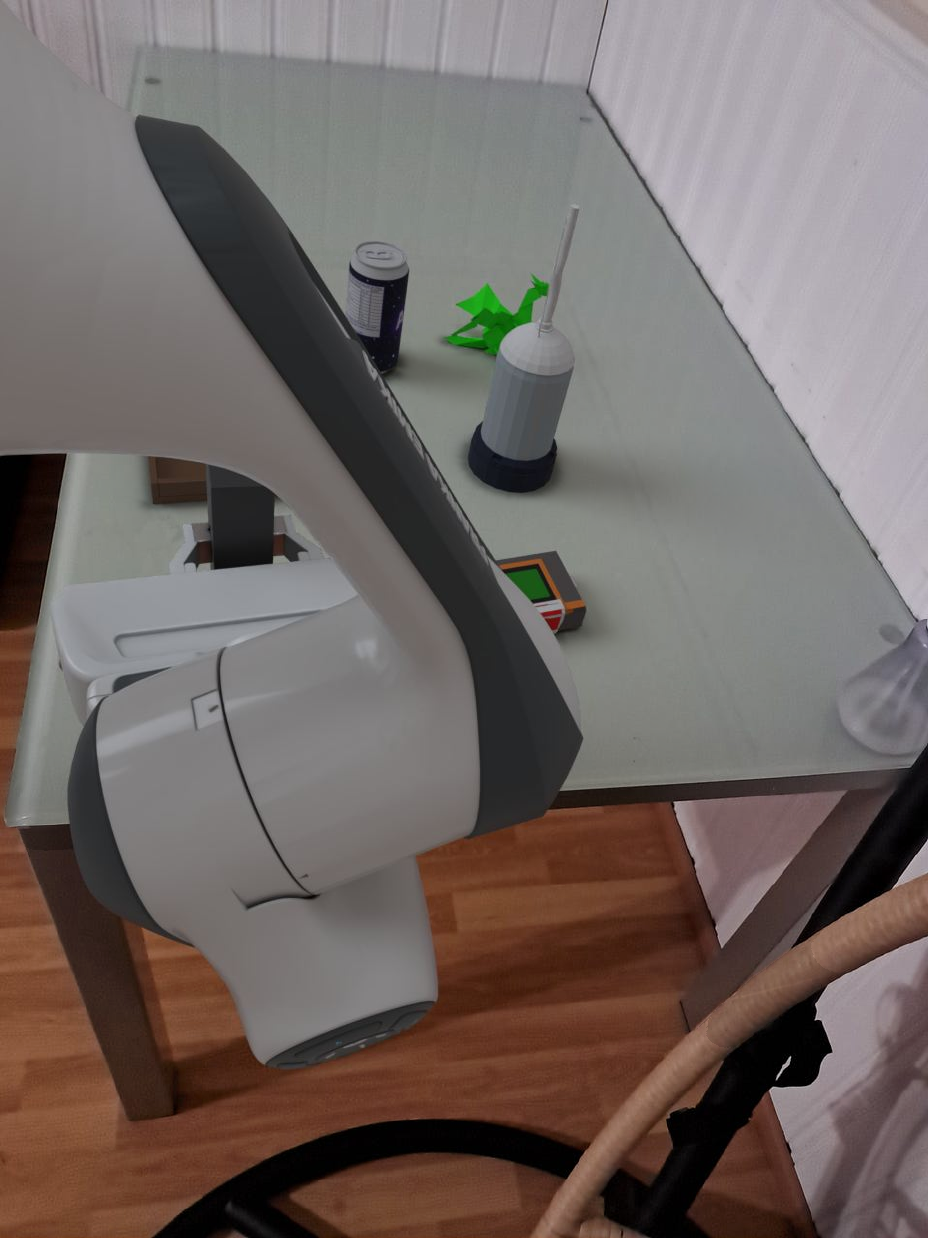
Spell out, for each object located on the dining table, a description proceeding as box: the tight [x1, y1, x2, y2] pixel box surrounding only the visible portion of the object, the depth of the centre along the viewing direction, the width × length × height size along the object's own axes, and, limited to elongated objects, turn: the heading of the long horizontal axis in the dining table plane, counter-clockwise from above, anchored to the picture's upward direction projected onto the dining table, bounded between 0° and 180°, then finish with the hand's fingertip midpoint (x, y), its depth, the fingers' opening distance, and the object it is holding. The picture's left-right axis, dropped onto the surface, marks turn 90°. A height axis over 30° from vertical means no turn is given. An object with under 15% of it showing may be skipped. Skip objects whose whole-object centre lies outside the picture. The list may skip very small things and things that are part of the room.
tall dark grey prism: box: [206, 464, 276, 570], centre depth 55 cm, size 3×6×14 cm, turn 13°
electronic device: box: [495, 550, 587, 635], centre depth 76 cm, size 7×3×15 cm
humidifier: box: [467, 203, 581, 494], centre depth 81 cm, size 8×8×25 cm
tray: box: [147, 456, 279, 505], centre depth 85 cm, size 17×13×2 cm
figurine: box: [444, 273, 550, 356], centre depth 100 cm, size 6×12×9 cm, turn 86°
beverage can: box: [345, 240, 410, 375], centre depth 94 cm, size 6×6×12 cm
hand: (236, 527), depth 55 cm, fingers closed on tall dark grey prism, 3 cm apart
